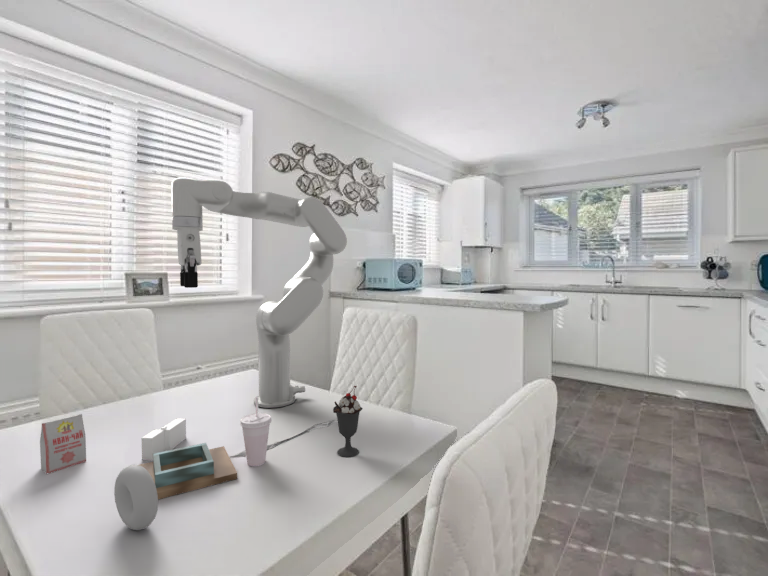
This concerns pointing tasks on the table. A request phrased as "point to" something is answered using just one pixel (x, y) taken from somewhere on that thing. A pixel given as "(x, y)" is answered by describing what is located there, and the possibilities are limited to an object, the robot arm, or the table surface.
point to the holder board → (189, 469)
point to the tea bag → (62, 443)
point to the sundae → (347, 422)
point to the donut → (136, 497)
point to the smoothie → (256, 436)
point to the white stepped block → (163, 438)
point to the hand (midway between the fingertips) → (188, 286)
